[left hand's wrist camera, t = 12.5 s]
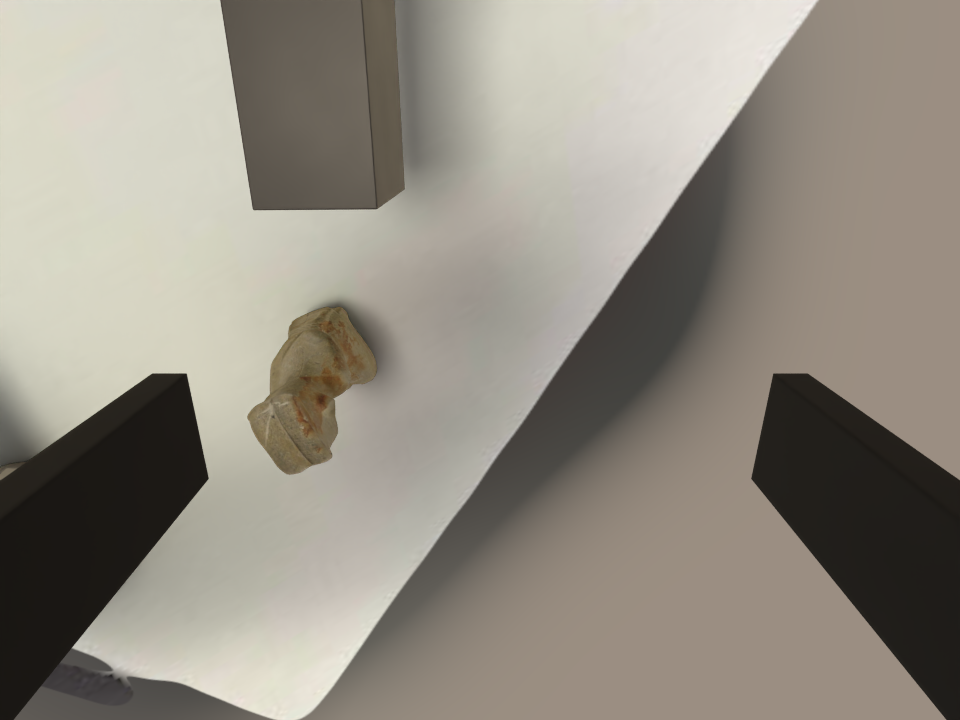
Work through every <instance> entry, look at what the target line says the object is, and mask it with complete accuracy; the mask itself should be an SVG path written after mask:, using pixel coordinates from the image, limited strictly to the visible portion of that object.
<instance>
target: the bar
mask: <svg viewBox="0 0 960 720" xmlns="http://www.w3.org/2000/svg"><path fill="white" fill-rule="evenodd" d="M220 1H221V7H222V14H223V20H224V26H225V33H226V39H227V46H228V52H229V59H230V65H231V71H232V78H233V84H234V91H235V97H236V104H237V110H238V116H239V123H240V129H241V136H242V142H243V148H244V155H245V161H246V168H247V174H248V181H249V187H250V193H251V200H252V206H253V210H338V209H378V208H379V207H381V206H382V205H383V204H385V203H386V202H388V201H389V200H390V199H392V198H393V197H394V196H396V195H397V194H399V193H400V192H401V191H403V190H404V189H405V185H404V166H403V148H402V130H401V112H400V94H399V76H398V58H397V40H396V22H395V3H394V0H220Z"/></svg>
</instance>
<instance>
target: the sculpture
mask: <svg viewBox="0 0 960 720" xmlns="http://www.w3.org/2000/svg"><path fill="white" fill-rule="evenodd" d="M376 372H377V366H376V361H375V358H374V356H373V354H372V352H371V350H370V349H369V347H368V346H367V344H366V343H365V341H364V340H363V339H362V337H361V336H360V334H359V333H358V332H357V331H356V329H355V328H354V327H353V325H352V324H351V322H350V320H349V318H348V314H347V312H346V311H345V310H344V309H343V308H342V307H336V308H329V307H325V308H321V309H318V310H315V311H312V312H310V313H307V314H305V315H303V316H301V317H299V318H297V319H295V320H294V321H293V322H292V324H291V325H290V327H289V332H288V340H287V341H286V342H285V343H284V345H283V346H282V348H281V349H280V351H279V352H278V354H277V355H276V357H275V359H274V360H273V362H272V364H271V370H270V395H269V396H268V397H267V398H266V400H265V401H264V402H262V403H260V404H258V405H256V406H255V407H254V408H253V409H252V410H251V411H250V413H249V414H248V420H249V421H250V424H251V428H252V430H253V432H254V434H255V436H256V438H257V439H258V441H259V442H260V444H261V445H262V446H263V448H264V449H265V450H266V451H267V453H268V454H269V455H270V457H271V458H272V460H273V461H274V462H275V464H276V465H277V467H278V468H279V469H280V470H282V471H283V472H284V473H286V474H289V475H290V474H297V473H300V472H302V471H304V470H305V469H307V468H308V467H310V466H312V465H316V464H320V463H323V462H327V461H328V460H330V459H331V458H332V453H331V450H330V447H331V445H332V443H333V441H334V440H335V438H336V436H337V434H338V427H337V422H336V418H335V400H334V399H333V398H335V397H337V396H339V395H341V394H342V393H343V392H345V391H346V390H347V389H349V388H350V387H351V386H352V384H364V383H367V382H369V381H371V380H372V379H373V378H374V377H375V375H376Z"/></svg>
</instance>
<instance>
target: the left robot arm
mask: <svg viewBox="0 0 960 720" xmlns="http://www.w3.org/2000/svg"><path fill="white" fill-rule="evenodd" d="M208 479H209V478H208V473H207V468H206V464H205V459H204V454H203V449H202V445H201V440H200V435H199V430H198V426H197V421H196V416H195V411H194V407H193V402H192V397H191V392H190V388H189V383H188V378H187V374H151V375H150V376H148V377H147V378H145V379H144V380H143V381H141V382H140V383H138V384H137V385H135V386H134V387H133V388H131V389H130V390H128V391H127V392H125V393H124V394H123V395H121V396H120V397H118V398H117V399H115V400H114V401H113V402H111V403H110V404H108V405H107V406H105V407H104V408H103V409H101V410H100V411H98V412H97V413H95V414H94V415H93V416H91V417H90V418H88V419H87V420H86V421H84V422H83V423H81V424H80V425H78V426H77V427H76V428H74V429H73V430H71V431H70V432H68V433H67V434H66V435H64V436H63V437H61V438H60V439H58V440H57V441H56V442H54V443H53V444H51V445H50V446H48V447H47V448H46V449H44V450H43V451H41V452H40V453H39V454H37V455H36V456H34V457H33V458H31V459H30V460H29V461H27V462H18V463H12V464H8V465H5V466H2V467H0V720H14V718H15V717H16V716H17V715H18V714H19V712H20V711H21V710H22V709H23V707H24V706H25V705H26V704H27V702H28V701H29V700H30V699H31V698H32V696H33V695H34V694H35V693H36V691H37V690H38V689H39V688H40V686H41V685H42V684H43V683H44V681H45V680H46V679H47V678H48V677H49V675H50V674H51V673H52V672H53V670H54V669H55V668H56V667H57V665H58V664H59V663H60V662H61V660H62V659H63V658H64V657H65V656H66V654H67V653H68V652H69V651H70V649H71V648H72V647H73V646H74V644H75V643H76V642H77V641H78V639H79V638H80V637H81V636H82V635H83V633H84V632H85V631H86V630H87V628H88V627H89V626H90V625H91V623H92V622H93V621H94V620H95V618H96V617H97V616H98V615H99V614H100V612H101V611H102V610H103V609H104V607H105V606H106V605H107V604H108V602H109V601H110V600H111V599H112V597H113V596H114V595H115V594H116V593H117V591H118V590H119V589H120V588H121V586H122V585H123V584H124V583H125V581H126V580H127V579H128V578H129V576H130V575H131V574H132V573H133V572H134V570H135V569H136V568H137V567H138V565H139V564H140V563H141V562H142V560H143V559H144V558H145V557H146V555H147V554H148V553H149V552H150V551H151V549H152V548H153V547H154V546H155V544H156V543H157V542H158V541H159V539H160V538H161V537H162V536H163V534H164V533H165V532H166V531H167V530H168V528H169V527H170V526H171V525H172V523H173V522H174V521H175V520H176V518H177V517H178V516H179V515H180V514H181V512H182V511H183V510H184V509H185V507H186V506H187V505H188V504H189V502H190V501H191V500H192V499H193V497H194V496H195V495H196V494H197V493H198V491H199V490H200V489H201V488H202V486H203V485H204V484H205V483H206V481H207V480H208ZM751 479H752V480H753V481H754V483H755V484H756V485H757V486H758V488H759V489H760V490H761V491H762V492H763V494H764V495H765V496H766V497H767V499H768V500H769V501H770V502H771V503H772V505H773V506H774V507H775V509H776V510H777V511H778V512H779V514H780V515H781V516H782V517H783V518H784V520H785V521H786V522H787V523H788V525H789V526H790V527H791V528H792V530H793V531H794V532H795V533H796V534H797V536H798V537H799V538H800V539H801V541H802V542H803V543H804V544H805V546H806V547H807V548H808V549H809V551H810V552H811V553H812V554H813V555H814V557H815V558H816V559H817V560H818V562H819V563H820V564H821V565H822V567H823V568H824V569H825V570H826V572H827V573H828V574H829V575H830V576H831V578H832V579H833V580H834V581H835V583H836V584H837V585H838V586H839V588H840V589H841V590H842V591H843V593H844V594H845V595H846V596H847V597H848V599H849V600H850V601H851V602H852V604H853V605H854V606H855V607H856V609H857V610H858V611H859V612H860V614H861V615H862V616H863V617H864V618H865V620H866V621H867V622H868V623H869V625H870V626H871V627H872V628H873V630H874V631H875V632H876V633H877V634H878V636H879V637H880V638H881V639H882V641H883V642H884V643H885V644H886V646H887V647H888V648H889V649H890V651H891V652H892V653H893V654H894V655H895V657H896V658H897V659H898V660H899V662H900V663H901V664H902V665H903V667H904V668H905V669H906V670H907V672H908V673H909V674H910V675H911V677H912V678H913V679H914V680H915V681H916V683H917V684H918V685H919V686H920V688H921V689H922V690H923V691H924V692H925V694H926V695H927V696H928V697H929V699H930V700H931V701H932V702H933V704H934V705H935V706H936V707H937V709H938V710H939V711H940V712H941V714H942V715H943V716H944V717H945V719H946V720H960V480H958V479H957V478H956V477H954V476H953V475H951V474H950V473H949V472H947V471H946V470H944V469H943V468H941V467H940V466H939V465H937V464H936V463H934V462H933V461H931V460H930V459H929V458H927V457H926V456H924V455H923V454H921V453H920V452H919V451H917V450H916V449H914V448H913V447H912V446H910V445H909V444H907V443H906V442H904V441H903V440H902V439H900V438H899V437H897V436H896V435H894V434H893V433H892V432H890V431H889V430H887V429H886V428H884V427H883V426H882V425H880V424H879V423H877V422H876V421H874V420H873V419H872V418H870V417H869V416H867V415H866V414H865V413H863V412H862V411H860V410H859V409H857V408H856V407H855V406H853V405H852V404H850V403H849V402H847V401H846V400H845V399H843V398H842V397H840V396H839V395H837V394H836V393H835V392H833V391H832V390H830V389H829V388H827V387H826V386H825V385H823V384H822V383H820V382H819V381H817V380H816V379H815V378H813V377H812V376H810V375H809V374H773V378H772V383H771V388H770V392H769V397H768V402H767V407H766V411H765V416H764V421H763V426H762V430H761V435H760V440H759V445H758V449H757V454H756V459H755V464H754V468H753V473H752V478H751Z"/></svg>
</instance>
